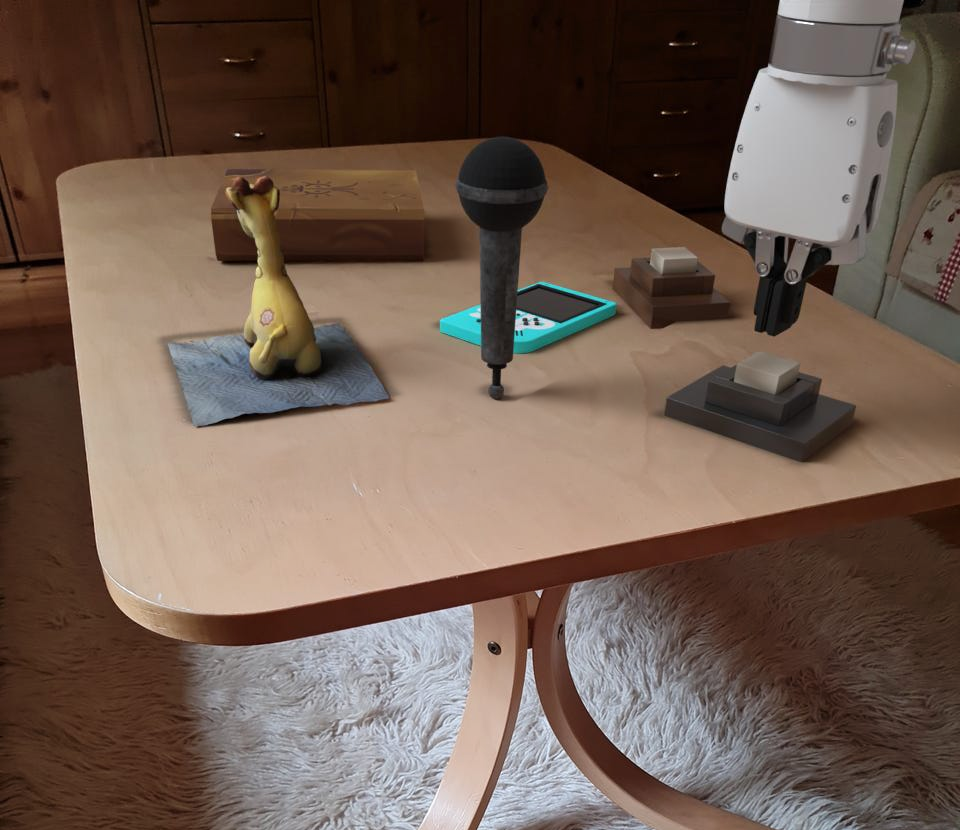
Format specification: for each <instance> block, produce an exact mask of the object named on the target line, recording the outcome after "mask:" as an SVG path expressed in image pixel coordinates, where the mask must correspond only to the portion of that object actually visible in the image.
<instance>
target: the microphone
mask: <svg viewBox="0 0 960 830" xmlns="http://www.w3.org/2000/svg"><path fill="white" fill-rule="evenodd" d="M548 189H549V184H548V180H547V178H546V173H545V170H544V167H543V164H542V162H541V160H540V158H539V157H538V155H537V154H536V152H535V151H534V150H533V149H532V148H531V147H530V146H529V145H528V144H526V143H524V142H523V141H521V140H520V139H517V138H513V137H510V136H496V137H492V138H491V137H490V138H488V139H487V138H486V139H485V140H484V141H482V142H480V143H478V144H476V146H475V147H473V148H472V149H471V150H470V151H469V153H468V154H467V155H466V157H465V159H464V160H463V162H462V164H461V166H460V169H459V173H458V177H457V178H456V181H455V191H456V193H457V194H458V198H459V201H460V202H459V203H460V205H461V207H462V209H463V211H464V212H465V214H466V216H467V217H468V218H469V219H470V221H471V222H473V223H474V224H475V225H476V226H477V227H478V230H479V231H478V232H479V233H478V235H479V236H478V237H479V238H478V239H479V295H480V296H479V298H480V304H481V346H480V357H481V361H482V362H484V363H486V367H487V368H489V369H490V370H492V375H491V376H492V377H491V384H490V386H489V387H488V389H487V390H488V395H489V397H490V398H492V399H495V400H498V399H501V398H502V397H503V396H504V394H505V388H504V386H503V385H502V382H501V381H502V378H501V377H502V370H504V369H506V368H507V366H508V364H509V363H511V362H512V361H513V359H514V353H513V349H514V335H515V321H516V307H517V292H518V290H519V277H520V261H521V251H522V250H521V248H522V235H523V228H524V227H526V226H527V225H528V224H529V223H531V222H532V221H533V220H534V218H535V217H536V216H537V215H538V214H539V211H540V209H541V208H542V205H543V202H544V199H545V196H546V195H547V193H548ZM480 304H479V305H480Z"/></svg>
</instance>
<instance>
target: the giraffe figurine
mask: <svg viewBox="0 0 960 830" xmlns="http://www.w3.org/2000/svg"><path fill="white" fill-rule="evenodd" d="M273 184H274V183H273V181H272V180H271V179H270V178H269V177H267V176H263V177H261V178H258V179H257V181H256V182H255V184H254V185H253V184H249V183H248V181H247V180H245V179H244V178H242V177H237V178H235V179H234V181H233V187H232V188H227V189H226V191H225V193H226V197H227V198H228V200H229V202H230V203H231V205H232V206H233V207H234V208H235V209H236V210H237V214H238V218H239V221H240V223H241V225H242V228H243V230H244V231H245V233H246V234H247V235H248V236H250V237H252V238H255V242H256V246H257V248H258V261H257V265H258V266H257V267H256V269H255V277H256V278H255V280H254V283H253V288H252V294H251V305H250V307H251V308H250V312H249V314H248V316H247V319H246V321H245V324H244V326H243V327H244V328H243V333H240V334H229V335H224V336H222V335H215V336H213V337H209V338H207V339H200V340H190V341H188V342H183V343H182V342H174V341H173V342H171V341H166V343H167V345H168V350H169V353H170V357H171V360H172V363H173V365H174V368H175V371H176V374H177V377H178V380H179V383H180V386H181V390H182V393H183V395H184V399H185V401H186V405H187V408H188V411H189V414H190V417H191V420H192V425H193V426H194V427H203V426H208V425H212V424H216V423H218V422H220V421H223V420H226V419H234V418H235V417H239V416H241V415H244V414H248V415H251V414H254V413H255V414H256V413H257V414H271V413H276V412H282V411H285V410H286V411H287V410H289V409H295V408H304V407H307V408H309V407H310V408H311V407H319V406H320V407H321V406H328V407H330V406H332V405H334V404H336V405H340V406H349V405H351V404H357V403H361V402H362V403H363V402H365V403H367V402H369V403H370V402H377V401H383V400H388V399H390V396H389V394H388V393H387V391H386V389H385V388H384V386H383V384H382V382H381V381H380V379H379V378H378V376H377V375H376V372H375V371H374V369H373V367H372V366H371V364H370V363H369V361H368V360H367V358H366V357H365V355H364V353H363V352H362V351H361V349H360V348H359V346H358V345H357V344H356V343H355V342H354V341H353V338H352V337H351V336H350V335H349V334H348V332H347V331H345V329H344V328H343V327H342V326H341V325H340V323H338V322H337V323H332V324H328V325H326V324H324V325H321V326H316V327H315V326H314V324H313V322H312V320H311V319H310V317H309V315H308V312H307V309H306V308H305V305H304V303H303V301H302V298H301V297H300V295H299V293H298V291H297V288H296V286H295V284H294V283H293V281H292V279H291V277H290V276H289V275H288V271H287V268H286V265H285V264H284V263H285V261H284V258H283V254H282V246H281V238H280V236H279V233H278V231H277V227H276V220H275V216H274V212H275V211H276V210H277V209H278V207H279V201H280V190H279V189H278V188H277V187H274V185H273Z"/></svg>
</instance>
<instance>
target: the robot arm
mask: <svg viewBox="0 0 960 830" xmlns="http://www.w3.org/2000/svg"><path fill="white" fill-rule="evenodd" d="M904 2H905V0H779V3H778V9H777V15H776V18H775V24H774V28H773V29H774V30H773V36H772V41H771V47H770V52H769V53H770V54H769V59H768V64H767V65H768V66H767V67H764V68H760V69H759V70H758V73H757V75H756V78H755V79H754V80H755V81H754V82H753V86H752V88H751V91H750V94H749V97H748V99H747V102H746V105H745V108H744V112H743V115H742V118H741V122H740V125H739V129H738V132H737V137H736V140H735V144H734V148H733V152H732V157H731V161H730V166H729V170H728V176H727V181H726V185H725V186H726V188H725V193H724V204H723V205H724V215H725V217H724V219H723V222H722V224H721V232H722V234H723V235H725V236H726V237H728V238H730V239H732V240H733V241H735V242H737V243H739V244H740V245H741V244H742V245H744V247H745V249H746V250H747V252H748V254H749V256H750V257H751V259H752V261H753V263H754V272H755V274H756V276H758V277H759V280H758V284H757V291H756V295H755V301H754V306H753V315H754V316H756V317H755V324H754V328H753V330H754V332H757V333H760V334H763V333H766V334H767V336H769V337H777V336H778V335H780V334H783V333H784V332H785V331H787V330H789V329H790V328H792V326H793V325H794V324H796V323H797V321H798V319H799V317H800V315H801V310H802V304H803V301H804V294H805V291H806V286H807V283H808V279H809V278H810V277H811V276H813V275H814V274H815V273H817V272H818V271H820V270H821V269H822V268H824V267H826V266H849V265H851V266H852V265H855V264H856V263H858V262H861V261H862V260H864V258H865V257H866V255H867V234H868V233H870V232H873V230H874V229H875V227H876V225H877V223H878V220H879V217H880V213H881V210H882V205H883V200H884V196H885V191H886V186H887V180H888V176H889V168H890V164H891V156H892V151H893V143H894V135H895V126H896V118H897V106H898V85H899V84H898V81H897V80H895V79H890V78H887V73H888V72H890V71H891V70H892V67H893V66H897V65H898V64H901V65H908V64H910V63H911V61H912V59H913V55H914V53H915V49H916V41H915V39H907V38H905V36H902V35H901V29H902V24H901V23H899V21H900V17H901V14H902V9H903V5H904ZM789 239H795V243H794V245H793V248H792V251H791V253H790V256H789V260H788V253H789V252H788V251H789Z"/></svg>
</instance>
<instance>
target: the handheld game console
mask: <svg viewBox="0 0 960 830" xmlns="http://www.w3.org/2000/svg"><path fill="white" fill-rule="evenodd" d="M616 313H617V302H615V301H611V300H608V299H604V298H601V297H597V296H594V295H591V294H587V293H584V292H580V291H576V290H573V289H569V288H566V287H563V286H559V285H556V284H553V283H549V282H545V281H539V282H536V283H534V284H530V285H528V286H525V287H522V288H520V289H518V292H517V307H516V321H515V335H514V349H513V354H529V353H532V352H534V351H537V350H539V349H541V348H544V347H547V346H548V345H550V344H553V343H555V342H557V341H560V340H562V339H564V338H567V337H569V336H571V335H573V334H575V333H578V332H580V331H582V330H584V329H587V328H589V327H591V326H594V325H596V324H598V323H600V322H602V321H603V322H604V320H607V319H609V318H611V317H614V316H616ZM439 331H440V333H442V334H444V335H448V336H451V337H454V338H456V339H460V340H463V341H465V342H468V343H470V344H474V345H477V346H479V347H481V304H478V305H474V306H472V307H470V308H467V309H464V310H461V311H459V312H457V313H454V314H450V315H449V316H445V317H442V318H441V319H440V320H439Z"/></svg>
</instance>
